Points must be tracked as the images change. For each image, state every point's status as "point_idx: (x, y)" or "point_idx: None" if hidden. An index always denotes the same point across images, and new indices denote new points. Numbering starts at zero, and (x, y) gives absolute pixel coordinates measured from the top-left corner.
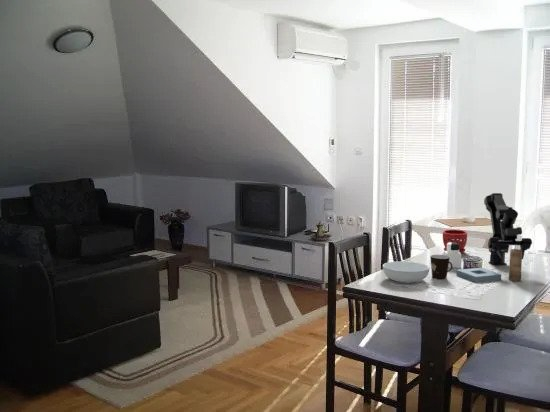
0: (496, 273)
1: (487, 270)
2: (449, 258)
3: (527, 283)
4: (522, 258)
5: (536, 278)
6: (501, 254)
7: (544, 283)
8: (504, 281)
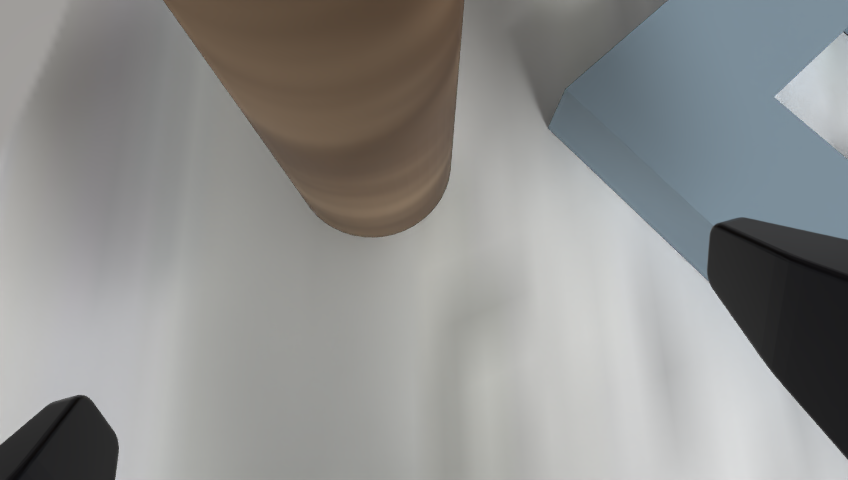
0: (646, 116)
1: None
2: None
3: None
4: (92, 404)
5: None
6: (811, 248)
7: (2, 154)
8: (500, 60)
